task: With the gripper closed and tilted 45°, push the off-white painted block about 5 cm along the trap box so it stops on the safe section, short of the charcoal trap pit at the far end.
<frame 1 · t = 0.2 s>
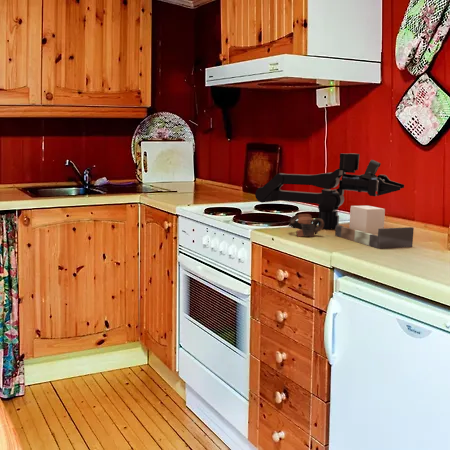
hand: (402, 187, 215), 16 cm above the countertop, tool horizontal, fingers open, 9 cm apart
pottery mug: (306, 236, 210), on the countertop
block: (366, 231, 206), point 2 cm above the countertop, touching trap box
trap box: (372, 240, 203), on the countertop
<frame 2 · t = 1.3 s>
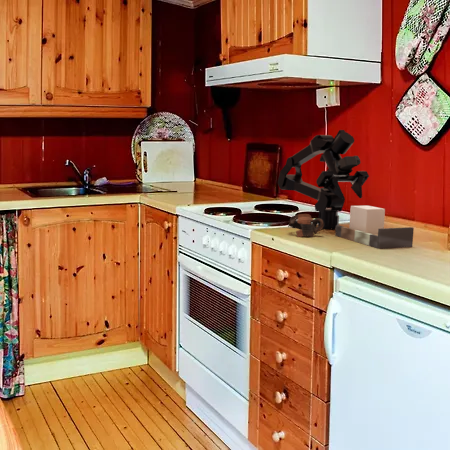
hand: (352, 197, 213), 13 cm above the countertop, tool tilted 45°, fingers open, 7 cm apart
nothing on the countertop moved.
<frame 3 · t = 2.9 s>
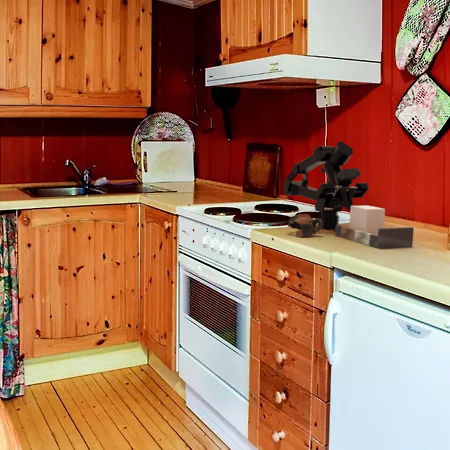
hand: (351, 210, 213), 8 cm above the countertop, tool tilted 45°, fingers closed
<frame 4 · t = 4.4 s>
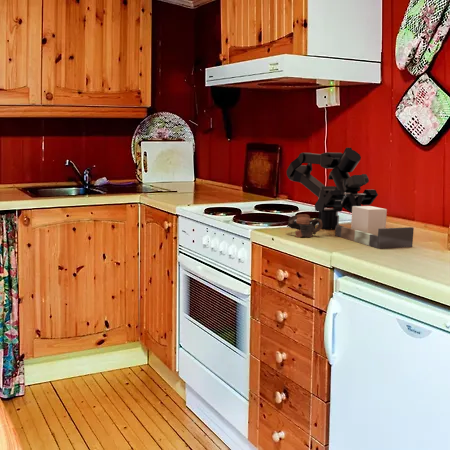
hand: (360, 217, 208), 7 cm above the countertop, tool tilted 45°, fingers closed, pressing on block
block: (367, 232, 205), point 3 cm above the countertop, touching gripper, trap box
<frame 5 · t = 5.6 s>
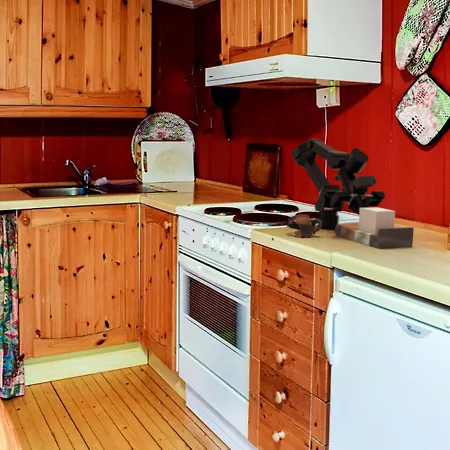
hand: (367, 219, 205), 7 cm above the countertop, tool tilted 45°, fingers closed, pressing on block
block: (375, 234, 201), point 2 cm above the countertop, touching gripper, trap box
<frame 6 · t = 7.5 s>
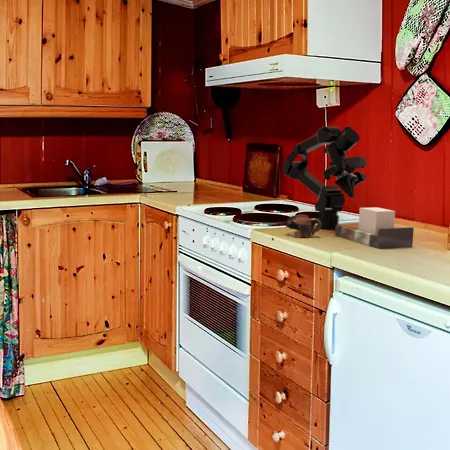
hand: (352, 197, 214), 13 cm above the countertop, tool tilted 35°, fingers closed
block: (375, 234, 201), point 2 cm above the countertop, touching trap box
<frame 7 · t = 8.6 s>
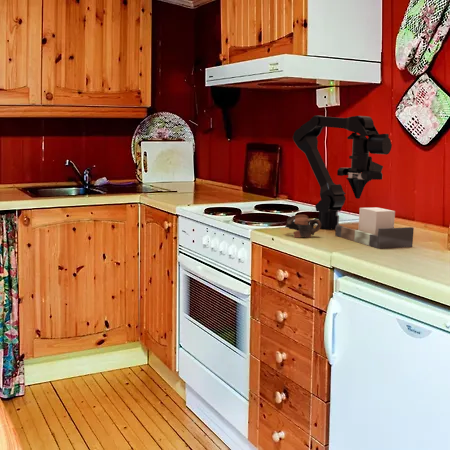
hand: (357, 198, 217), 12 cm above the countertop, tool pointing down, fingers closed
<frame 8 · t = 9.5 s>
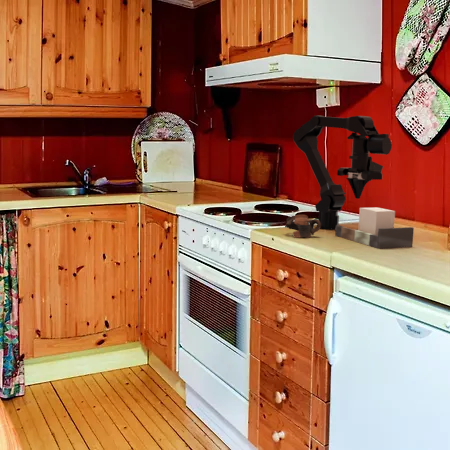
hand: (357, 198, 217), 12 cm above the countertop, tool pointing down, fingers closed
at the end: block 0.1 cm from the target spot, point 2.5 cm above the countertop; block tilted 0°; block moved 5.1 cm from its start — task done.
